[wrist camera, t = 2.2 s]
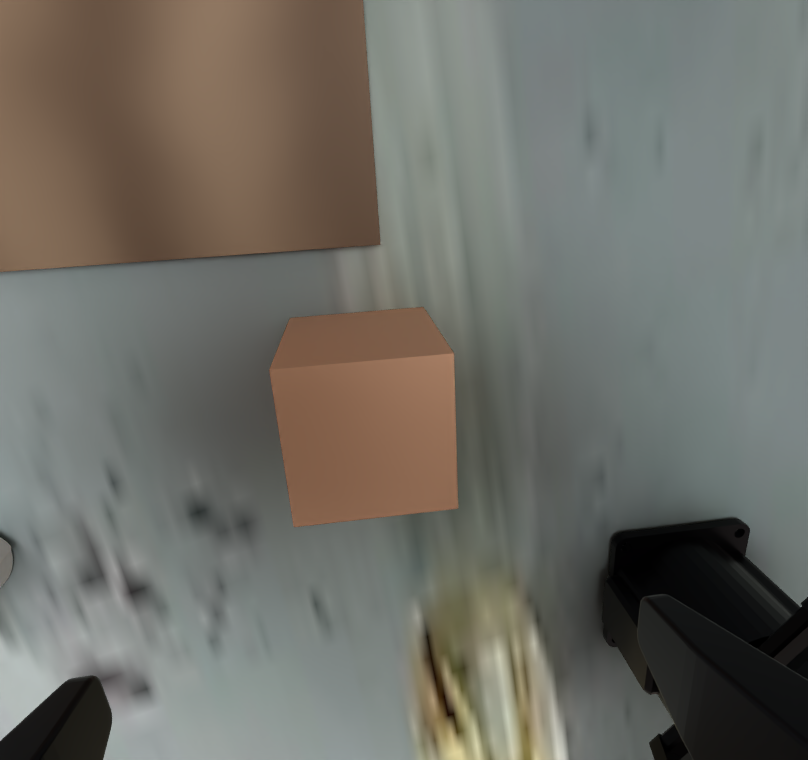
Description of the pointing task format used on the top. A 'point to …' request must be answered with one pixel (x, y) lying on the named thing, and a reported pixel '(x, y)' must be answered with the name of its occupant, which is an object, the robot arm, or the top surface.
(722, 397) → the top surface
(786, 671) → the robot arm
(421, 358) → the terracotta block
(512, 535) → the top surface
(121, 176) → the walnut board
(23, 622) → the top surface
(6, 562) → the photo printer
